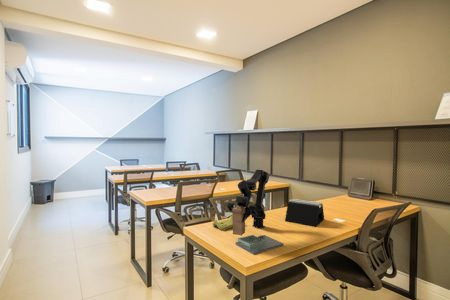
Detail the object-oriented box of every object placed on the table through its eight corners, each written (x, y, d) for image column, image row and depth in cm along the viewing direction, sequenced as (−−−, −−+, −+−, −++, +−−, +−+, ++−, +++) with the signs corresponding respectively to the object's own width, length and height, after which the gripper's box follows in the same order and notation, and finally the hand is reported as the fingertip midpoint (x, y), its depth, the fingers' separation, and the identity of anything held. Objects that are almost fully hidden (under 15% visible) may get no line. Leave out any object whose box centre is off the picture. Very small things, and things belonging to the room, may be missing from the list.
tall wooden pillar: (236, 230, 151) (236, 206, 150) (245, 232, 149) (244, 207, 148) (232, 233, 146) (232, 208, 146) (241, 235, 144) (241, 209, 143)
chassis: (264, 236, 156) (264, 231, 156) (283, 245, 143) (283, 239, 143) (235, 244, 144) (235, 238, 144) (253, 254, 131) (253, 248, 131)
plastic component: (222, 227, 167) (213, 218, 173) (219, 236, 169) (211, 226, 176) (244, 220, 179) (235, 211, 186) (241, 228, 182) (233, 219, 189)
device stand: (315, 227, 175) (315, 206, 175) (285, 221, 189) (285, 201, 188) (324, 219, 193) (324, 200, 193) (295, 215, 207) (295, 196, 206)
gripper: (227, 189, 155) (219, 211, 145) (256, 192, 146) (249, 215, 137) (233, 199, 162) (225, 221, 152) (261, 202, 153) (254, 226, 144)
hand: (238, 221), depth 146 cm, fingers closed on tall wooden pillar, 5 cm apart
